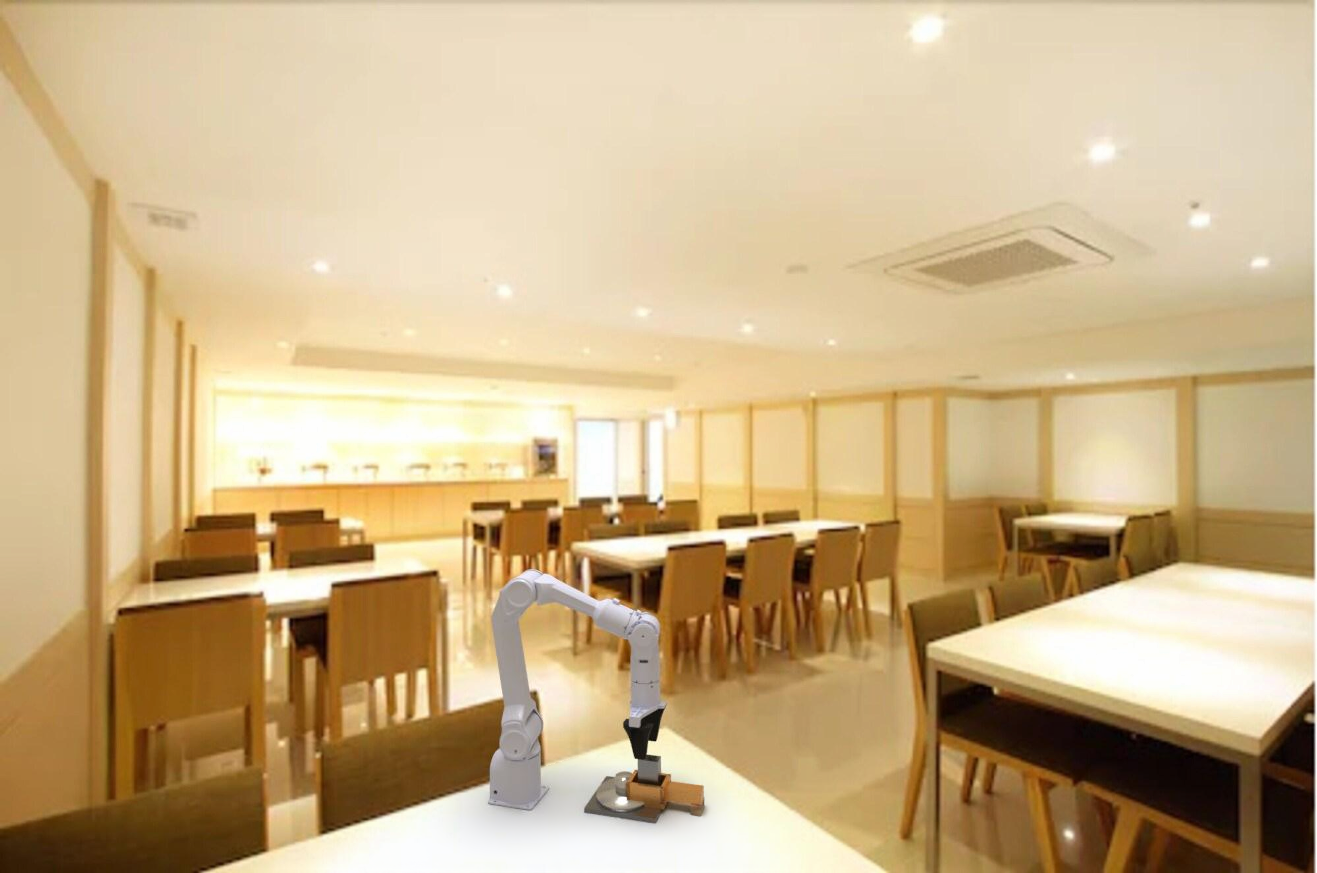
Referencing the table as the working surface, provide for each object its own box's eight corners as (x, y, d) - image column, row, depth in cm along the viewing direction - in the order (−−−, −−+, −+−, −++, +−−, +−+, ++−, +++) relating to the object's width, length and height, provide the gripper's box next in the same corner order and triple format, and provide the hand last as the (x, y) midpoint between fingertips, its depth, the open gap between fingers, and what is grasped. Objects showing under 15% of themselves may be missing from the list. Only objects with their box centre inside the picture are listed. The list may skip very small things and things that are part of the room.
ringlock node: (584, 812, 116) (584, 787, 116) (606, 779, 127) (606, 757, 128) (695, 829, 110) (695, 803, 110) (708, 793, 122) (708, 770, 122)
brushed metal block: (638, 796, 118) (637, 759, 118) (641, 789, 120) (641, 753, 121) (658, 799, 117) (657, 762, 117) (661, 792, 119) (660, 756, 120)
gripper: (654, 694, 112) (655, 770, 112) (674, 667, 126) (674, 735, 126) (618, 690, 114) (618, 765, 114) (641, 665, 128) (642, 731, 128)
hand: (645, 749), depth 120 cm, fingers open, 7 cm apart
